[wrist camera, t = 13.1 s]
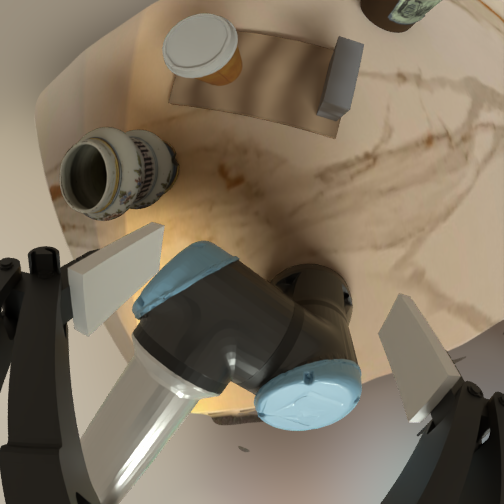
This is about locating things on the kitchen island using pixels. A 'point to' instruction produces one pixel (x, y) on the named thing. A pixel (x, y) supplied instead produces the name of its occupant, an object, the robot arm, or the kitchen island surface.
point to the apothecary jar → (116, 172)
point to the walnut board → (283, 83)
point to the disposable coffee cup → (203, 49)
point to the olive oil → (396, 12)
